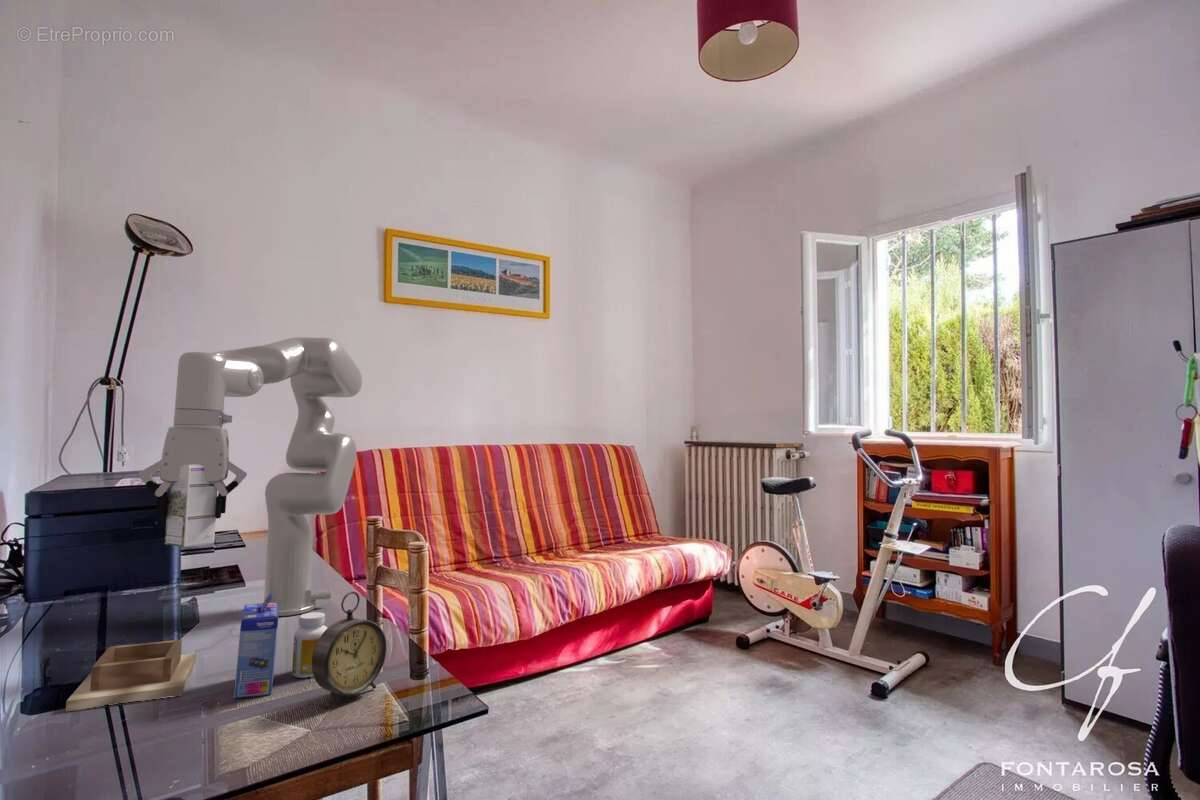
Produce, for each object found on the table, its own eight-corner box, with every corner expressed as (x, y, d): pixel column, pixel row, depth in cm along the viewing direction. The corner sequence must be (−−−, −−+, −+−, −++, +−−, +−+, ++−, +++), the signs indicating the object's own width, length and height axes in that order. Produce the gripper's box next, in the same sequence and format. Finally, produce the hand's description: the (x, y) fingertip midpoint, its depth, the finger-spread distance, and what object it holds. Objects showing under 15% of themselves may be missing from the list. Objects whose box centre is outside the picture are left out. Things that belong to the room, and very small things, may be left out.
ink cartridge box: (274, 695, 97) (279, 600, 98) (233, 701, 94) (239, 604, 95) (274, 673, 106) (279, 587, 107) (237, 678, 103) (242, 590, 104)
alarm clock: (325, 714, 91) (331, 601, 92) (303, 705, 93) (309, 595, 95) (386, 689, 100) (391, 587, 101) (364, 682, 103) (369, 582, 104)
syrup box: (215, 543, 112) (221, 463, 113) (182, 548, 107) (188, 463, 108) (195, 541, 115) (201, 462, 116) (162, 545, 109) (168, 462, 111)
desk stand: (196, 661, 110) (197, 633, 110) (181, 696, 96) (183, 662, 96) (97, 673, 104) (99, 642, 104) (65, 711, 89) (68, 676, 90)
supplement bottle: (333, 669, 108) (336, 612, 108) (309, 680, 103) (312, 621, 103) (309, 665, 110) (312, 609, 110) (284, 676, 104) (287, 617, 105)
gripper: (254, 423, 120) (247, 515, 118) (144, 419, 112) (136, 517, 111) (252, 421, 113) (245, 519, 112) (135, 417, 105) (126, 521, 104)
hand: (191, 517), depth 111 cm, fingers closed on syrup box, 7 cm apart
